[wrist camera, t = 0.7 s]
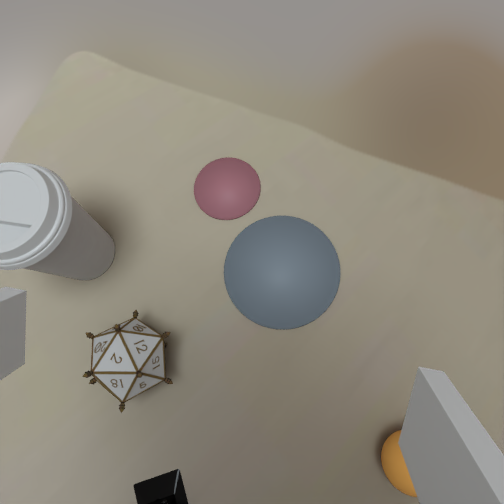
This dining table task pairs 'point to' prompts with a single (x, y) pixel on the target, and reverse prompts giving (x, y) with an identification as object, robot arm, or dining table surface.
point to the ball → (396, 465)
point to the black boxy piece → (162, 489)
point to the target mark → (282, 272)
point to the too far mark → (227, 188)
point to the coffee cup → (48, 226)
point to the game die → (128, 359)
